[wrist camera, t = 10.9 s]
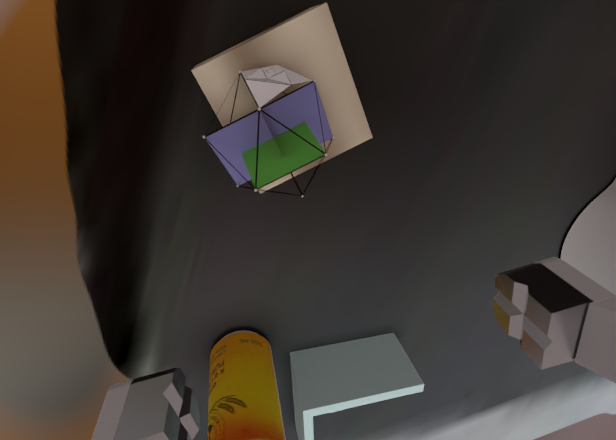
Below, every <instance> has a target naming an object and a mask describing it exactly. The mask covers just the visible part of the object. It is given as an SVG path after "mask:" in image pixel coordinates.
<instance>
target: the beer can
mask: <svg viewBox="0 0 616 440" xmlns="http://www.w3.org/2000/svg"><path fill="white" fill-rule="evenodd" d="M208 440H286V438H285V431H284V425H283V419H282V413H281V407H280V401H279V395H278V388H277V382H276V376H275V370H274V364H273V358H272V352H271V347H270V344H269V342H268V341H267V340H266V339H265V338H264V337H262V336H260V335H259V334H257V333H255V332H252V331H246V330H241V331H235V332H232V333H230V334H228V335H226V336H225V337H223V338H222V339H221V340H220V341H219V342H218V343H217V344H216V345H215V346H214V347H213V349H212V351H211V355H210V380H209V412H208Z"/></svg>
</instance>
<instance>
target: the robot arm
mask: <svg viewBox="0 0 616 440" xmlns="http://www.w3.org/2000/svg"><path fill="white" fill-rule="evenodd" d="M495 287H496V288H497V289H498V290H499V293H498V294H497V295H496V297H495V298H494V301H493V310H494V313H495V316H496V319H497V321H498V323H499V324H500V326H501V327H502V328H503V330H504V331H505V332H506V333H507V334H508V335H510V336H512V337H515V338H517V339H520V344H521V349H522V350H523V351H524V352H525V353H526V354H527V355H528V356H529V357H530V359H531V360H532V361H533V362H534V363H535V364H536V365H537V366H538V367H539V368H540V369H541V370H542V369H545V368H549V367H552V366H556V365H559V364H563V363H566V362H570V361H573V360H575V361H574V362H575V363H577V364H579V365H581V366H583V367H585V368H587V369H589V370H591V371H593V372H595V373H597V374H599V375H601V376H603V377H605V378H607V379H609V380H611V381H613V382H615V383H616V178H615V180H614V181H613V183H612V184H611V185H610V186H609V187H608V188H607V189H606V190H605V191H604V192H602V193H601V194H600V195H599V196H598V197H597V198H595V199H594V200H593V201H592V202H591V203H590V204H589V205H588V206H587V207H586V208H585V209H584V211H583V212H582V213H581V214H580V215H579V217H578V218H577V219H576V221H575V222H574V224H573V225H572V227H571V229H570V231H569V232H568V234H567V236H566V239H565V241H564V244H563V247H562V252H561V259H560V258H556V257H552V258H549V259H545V260H542V261H539V262H535V263H533V264H529V265H525V266H522V267H519V268H516V269H512V270H509V271H506V272H502V273H499V274H498V275H497V277H496V278H495ZM199 419H200V417H199V408H198V402H197V399H196V396H195V394H194V392H193V390H192V389H191V388H189V387H186V386H185V375H184V374H183V372H182V370H181V369H180V368H173V369H170V370H166V371H162V372H158V373H155V374H151V375H147V376H143V377H139V378H136V379H134V380H130V381H126V382H122V383H118V384H115V385H113V386H112V387H111V388H110V389H109V390H108V392H107V395H106V398H105V401H104V404H103V407H102V410H101V413H100V415H99V418H98V421H97V424H96V427H95V430H94V433H93V436H92V439H91V440H193V438H194V437H195V435H196V433H197V432H198V430H199Z"/></svg>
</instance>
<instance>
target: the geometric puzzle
mask: <svg viewBox="0 0 616 440" xmlns="http://www.w3.org/2000/svg"><path fill="white" fill-rule="evenodd" d="M240 74H241V76H242V78H243V79H244V81H245V83H246V85H247V87H248V89H249V91H250V93H251V95H252V97H253V99H254V101H255V103H256V105H257V107H258V109H257V110H255V111H253V112H251V113H249V114H247V115H245V116H243V117H241V118H239V119H237V120H235V121H233V122H231V120H232V115H233V109H234V104H235V99H236V94H237V89H238V84H239V79H240ZM237 77H238V76H237ZM236 79H237V78H236ZM235 81H236V80H235ZM311 81H312V82H311ZM306 82H310V83H308V84H306V85H304V86H302V87H300V88H298V89H296V90H294V91H292V92H290V93H288V94H286V93H284V92H283V91H284V90H286V89H287V88H289V87H290V86H291V85H295V84H300V83H306ZM315 82H316V80H315V79H314V80H311V79H309V78H307V77H305V76H302V75H300V74H298V73H296V72H293V71H291V70H289V69H287V68H284V67H282V66H280V65H272V66H267V67H262V68H257V69H252V70H246V71H239V78H238V83H237V89H236V94H235V99H234V104H233V109H232V114H231V119H230V123H229V124H227V125H225V126H223V127H221V128H219V129H217V130H215V131H214V132H212V133H210V134H208V135H206V134H205V135H206V136H203V138H204V139H205V140H206V141H207V143H208V144H209V146H210V147H211V148H212V150H213V151H214V153H215V154H216V156H217V157H218V158H219V160H220V161H221V163H222V164H223V166H224V167H225V168H226V170H227V171H228V173H229V174H230V176H231V177H232V179H233V180H234V181H235V183H236V184H237V185H236V186H237V187H243V186H240V185H241V184H243V183H245V182H248V181H249V180H251V179H252V182H253V184H254V187H255V188H254V187H253V186H252V185H251V184H250V183H249V182H248V183H249V184H250V185H251V186H252V187H253V189H252V190H254V191H255V192H257V190H258V189H260V188H262V187H264V186H266V185H268V184H270V183H272V182H274V181H276V180H278V179H280V178H282V177H284V176H286V175H288V174H291V176H292V178H293V180H294V182H295V184H296V186H297V188H298V190H299V191H300V193H301V195H298V196H301V197H304V196H303V194H304V193H305V191H306V189H307V187H308V186H309V184H310V182H311V180H312V179H313V178H311V179H310V181H309V183H308V185H307V187H306V189H305V191H304V193H303V194H302V192H301V190H300V188H299V186H298V184H297V182H296V180H295V178H294V176H293V174H292V172H294V171H296V170H298V169H300V168H302V167H304V166H306V165H308V164H310V163H312V162H314V161H316V160H317V159H319V158H321V157H322V158H323V156H327V153H326V151H327V149H329V148H328V147H330V146H329V145H330V144H331V142H332V140H331V139H334V136H332V133H331V130H330V127H329V124H328V121H327V118H326V114H325V111H324V108H323V105H322V102H321V99H320V96H319V93H318V90H317V87H316V84H315ZM232 86H233V85H232ZM231 88H232V87H231ZM230 90H231V89H230ZM280 93H284V94H286V95H284V96H282V97H280V98H278V99H276V100H274V101H272V102H270V101H271V100H272V99H274V98H275V97H276V96H278V95H279V94H280ZM227 95H228V94H227ZM226 97H227V96H226ZM225 99H226V98H225ZM268 102H270V103H268ZM267 103H268V104H267ZM222 104H223V103H222ZM265 104H266V105H265ZM221 106H222V105H221ZM220 108H221V107H220ZM217 113H218V112H217ZM216 115H217V114H216ZM215 117H216V116H215ZM212 122H213V121H212ZM211 124H212V123H211ZM210 126H211V125H210ZM207 131H208V130H207ZM206 133H207V132H206ZM328 140H331V141H330V143H329V145H328V147H327V149H325V152H324V150H323V149H322V147H321V146H320V144H322V143H324V142H326V141H328ZM324 147H325V143H324ZM327 152H328V151H327ZM324 158H325V157H324ZM324 158H323V159H324ZM321 160H322V159H321ZM321 160H320V162H321ZM322 161H323V160H322ZM320 162H319V164H320ZM321 163H322V162H321ZM319 164H318V166H320V165H321V164H320V165H319ZM318 166H317V168H319V167H318ZM317 168H316V170H318V169H317ZM316 170H315V171H316ZM316 172H317V171H316ZM316 172H314V173H316ZM313 175H315V174H313ZM312 177H314V176H312ZM244 188H248V189H251V188H250V187H244ZM258 191H263V189H260V190H258ZM266 192H270V191H269V190H266ZM273 192H274V193H278V192H276V191H273ZM279 193H282V192H279ZM282 194H289V193H282ZM290 195H295V194H290Z"/></svg>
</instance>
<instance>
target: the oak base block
mask: <svg viewBox="0 0 616 440" xmlns="http://www.w3.org/2000/svg"><path fill="white" fill-rule="evenodd" d="M272 65H280V66H282V67H284V68H287V69H289V70H291V71H293V72H296V73H298V74H300V75H302V76H305V77H307V78H309V79H311V80H314V79H315V80H316V82H315V84H316V87H317V90H318V93H319V96H320V99H321V102H322V105H323V108H324V111H325V114H326V118H327V121H328V124H329V127H330V130H331V133H332V136H334V139H331V140H332V142H331V144H330V145H329V143H330V141H331V140H328V141H326V142H324V143H325V147H324V143H322V144H320V146H321V147H322V149H323V150H324V152H325V149H327V147H328V145H329V146H330V147H328V148H329V149H327V151H328V152H327V151H326V153H327V156H323V158H324V157H325V158H324V159H323V158H322V157H321V158H319V159H317V160H316V161H314V162H312V163H310V164H308V165H306V166H304V167H302V168H300V169H298V170H296V171H294V172H292V174H293V176H294V177H295V176H297V175H299V174H301V173H303V172H305V171H307V170H309V169H311V168H313V167H315V166H317V165H318V164H319V162H320V160H321V159H322V160H323V161H322V160H321V162H322V163H323V162H325V161H327V160H329V159H331V158H333V157H335V156H337V155H339V154H341V153H343V152H345V151H347V150H349V149H351V148H353V147H355V146H357V145H359V144H361V143H363V142H365V141H367V140H369V139H371V138H373V137H372V134H371V131H370V128H369V125H368V122H367V119H366V116H365V113H364V110H363V107H362V105H361V102H360V99H359V96H358V93H357V90H356V87H355V84H354V81H353V78H352V75H351V72H350V69H349V66H348V63H347V60H346V58H345V55H344V52H343V49H342V46H341V43H340V40H339V37H338V34H337V31H336V28H335V25H334V22H333V19H332V16H331V14H330V11H329V8H328V5H327V3H323V4H320V5H317V6H314V7H311V8H309V9H307V10H305V11H303V12H301V13H299V14H297V15H295V16H293V17H291V18H289V19H287V20H285V21H283V22H281V23H279V24H277V25H275V26H273V27H271V28H269V29H267V30H265V31H263V32H261V33H259V34H257V35H255V36H253V37H251V38H249V39H247V40H245V41H243V42H241V43H239V44H237V45H235V46H233V47H231V48H229V49H227V50H225V51H223V52H221V53H219V54H217V55H215V56H213V57H211V58H209V59H207V60H205V61H203V62H201V63H199V64H197V65H195V66H194V68H193V69H192V70H191V71H192V73H193V75H194V76H195V78H196V80H197V82H198V84H199V85H200V87H201V89H202V91H203V92H204V94H205V96H206V98H207V100H208V101H209V103H210V105H211V107H212V109H213V110H214V112H215V114H217V115H216V116H217V117H218V119H219V121H220V123H221V125H222V126H225V125H227V124H229V123H230V119H231V114H232V109H233V104H234V99H235V94H236V89H237V83H238V78H239V71H246V70H252V69H257V68H262V67H267V66H272ZM237 76H238V77H237ZM236 78H237V79H236ZM235 80H236V81H235ZM311 82H312V81H311ZM308 83H310V82H306V83H300V84H295V85H291V86H290V87H289V88H287V89H286V90H284V91H283V92H284V93H286V94H288V93H290V92H292V91H294V90H296V89H298V88H300V87H302V86H304V85H306V84H308ZM232 85H233V86H232ZM231 87H232V88H231ZM230 89H231V90H230ZM284 93H280V94H279V95H278V96H276V97H275V98H274V99H272V100H271V101H270V102H272V101H274V100H276V99H278V98H280V97H282V96H284V95H286V94H284ZM227 94H228V95H227ZM226 96H227V97H226ZM225 98H226V99H225ZM270 102H268V103H270ZM222 103H223V104H222ZM268 103H267V104H268ZM221 105H222V106H221ZM265 105H266V104H265ZM220 107H221V108H220ZM257 109H258V107H257V105H256V103H255V101H254V99H253V97H252V95H251V93H250V91H249V89H248V87H247V85H246V83H245V81H244V79H243V78H242V76H241V74H240V79H239V84H238V89H237V94H236V99H235V104H234V109H233V115H232V120H231V122H233V121H235V120H237V119H239V118H241V117H243V116H245V115H247V114H249V113H251V112H253V111H255V110H257ZM217 112H218V113H217ZM321 162H320V164H321ZM291 178H292V176H291V174H288V175H286V176H284V177H282V178H280V179H278V180H276V181H274V182H272V183H270V184H268V185H266V186H264V187H262V188H260V189H263V191H259V192H260V194H261V193H263V192H265V191H266V190H269V189H271V188H273V187H275V186H277V185H279V184H281V183H283V182H285V181H287V180H289V179H291ZM260 189H258V190H260Z"/></svg>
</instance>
